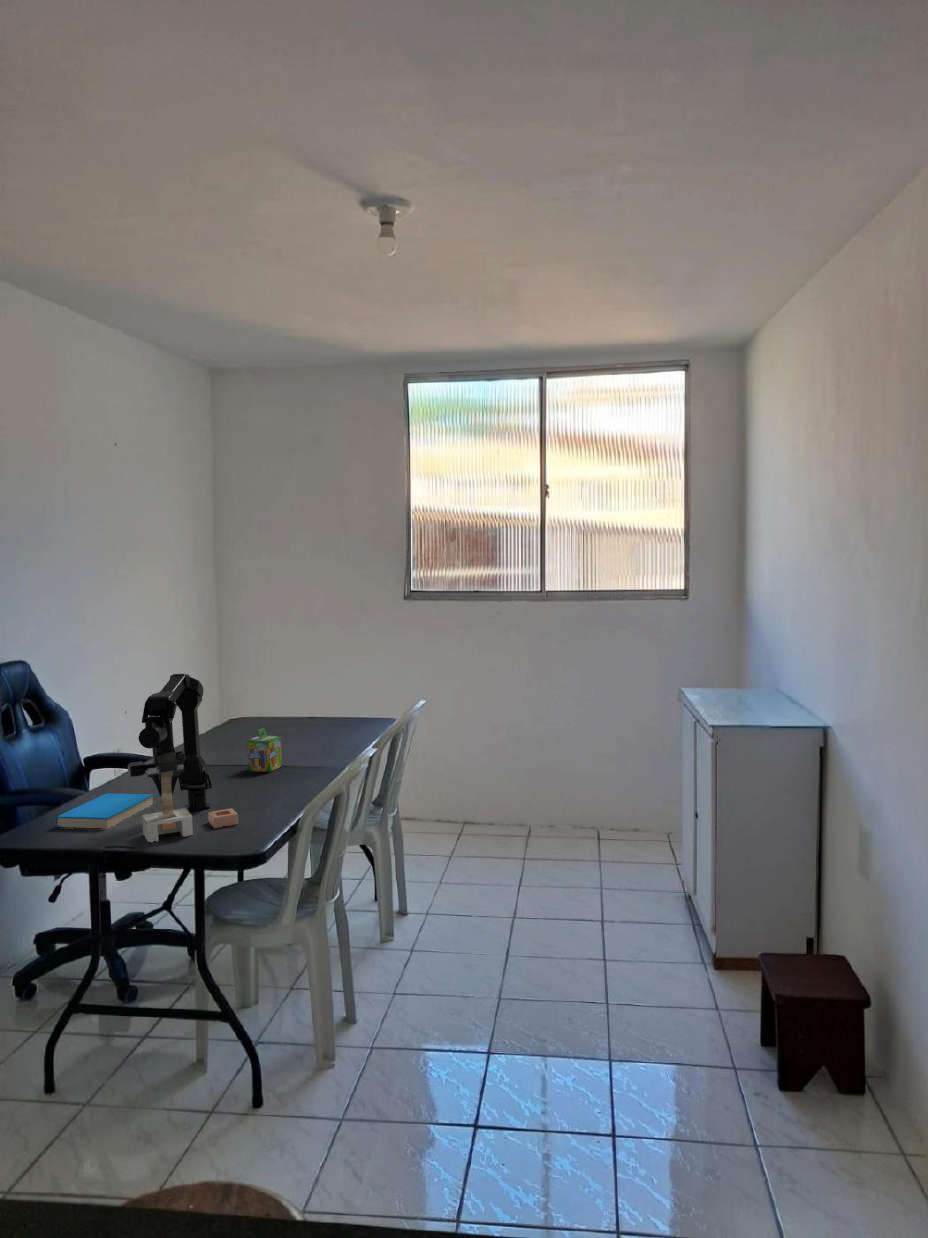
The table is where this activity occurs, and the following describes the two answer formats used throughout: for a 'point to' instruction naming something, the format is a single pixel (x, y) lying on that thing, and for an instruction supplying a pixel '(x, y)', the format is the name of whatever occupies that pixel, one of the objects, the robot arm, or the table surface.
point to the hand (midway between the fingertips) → (166, 795)
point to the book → (105, 811)
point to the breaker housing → (155, 819)
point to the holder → (223, 818)
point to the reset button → (168, 825)
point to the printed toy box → (264, 752)
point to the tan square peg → (166, 792)
